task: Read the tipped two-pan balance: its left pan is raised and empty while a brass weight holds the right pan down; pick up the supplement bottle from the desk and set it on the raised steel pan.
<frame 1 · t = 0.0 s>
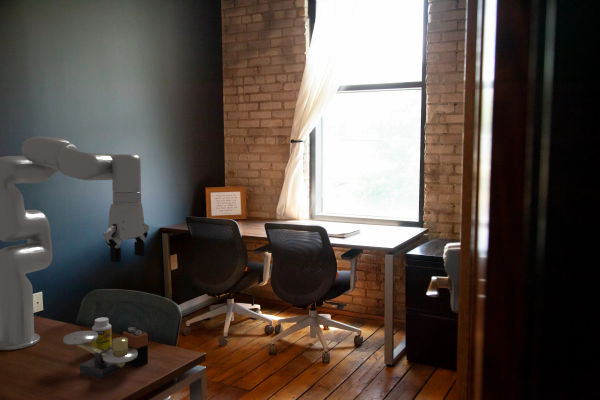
hand: (128, 258, 135), 31 cm above the table, tool pointing down, fingers open, 9 cm apart
brass weight: (120, 354, 131), point 6 cm above the table, touching balance
balance: (100, 371, 134), on the table
battery: (135, 363, 140), on the table
supplement bottle: (102, 352, 148), on the table
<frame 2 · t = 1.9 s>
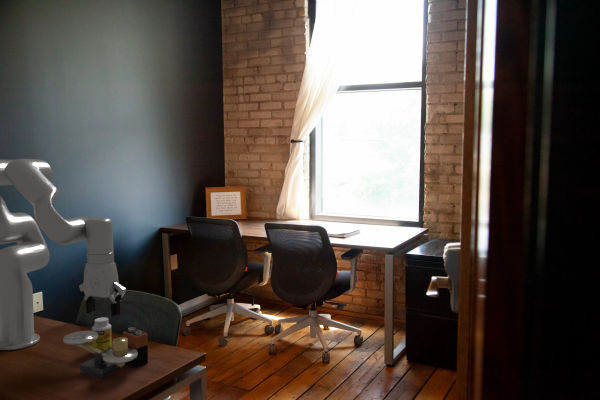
hand: (103, 313, 147), 12 cm above the table, tool pointing down, fingers open, 9 cm apart
nothing on the table moved.
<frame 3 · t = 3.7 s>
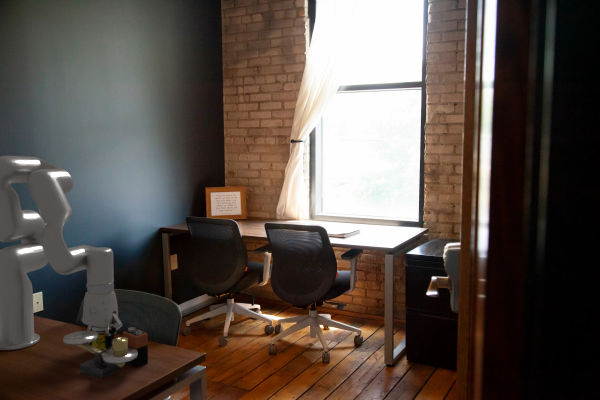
hand: (101, 345, 148), 2 cm above the table, tool pointing down, fingers closed on supplement bottle, 5 cm apart
supplement bottle: (102, 352, 148), on the table, touching gripper
everything else where it was.
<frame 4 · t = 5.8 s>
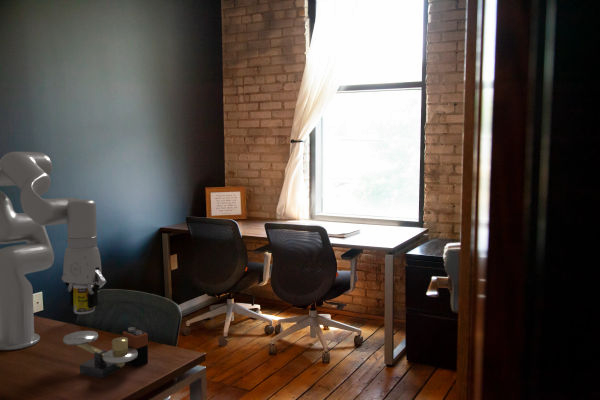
hand: (84, 304, 137), 18 cm above the table, tool pointing down, fingers closed on supplement bottle, 5 cm apart
supplement bottle: (84, 312, 137), point 15 cm above the table, touching gripper
everything else where it was.
when the fingers open (12 cm above the table, at t = 7.7 s): supplement bottle drops 1 cm, resting on balance.
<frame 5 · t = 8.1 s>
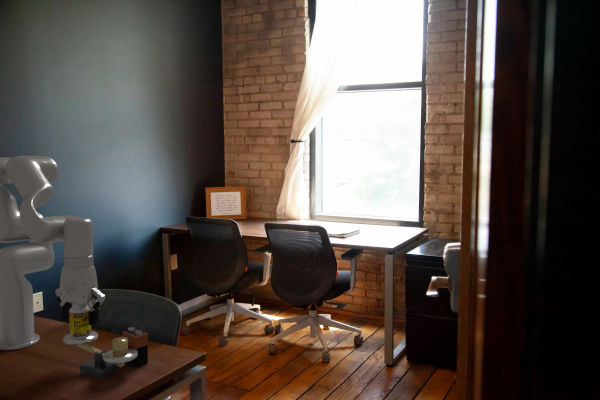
hand: (80, 321, 135), 13 cm above the table, tool pointing down, fingers open, 9 cm apart
supplement bottle: (80, 336, 136), point 9 cm above the table, touching balance
everything else where it was.
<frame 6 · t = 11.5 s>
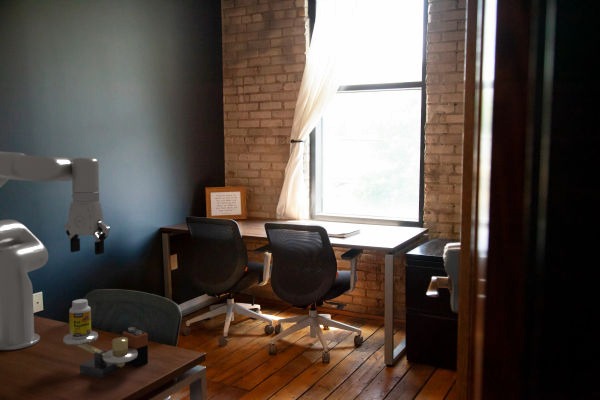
hand: (87, 252, 149), 30 cm above the table, tool pointing down, fingers open, 9 cm apart
nothing on the table moved.
at the end: supplement bottle 0.1 cm from the target spot on the balance, point 8.8 cm above the balance's base; supplement bottle tilted 0°; the gripper is holding nothing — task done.
